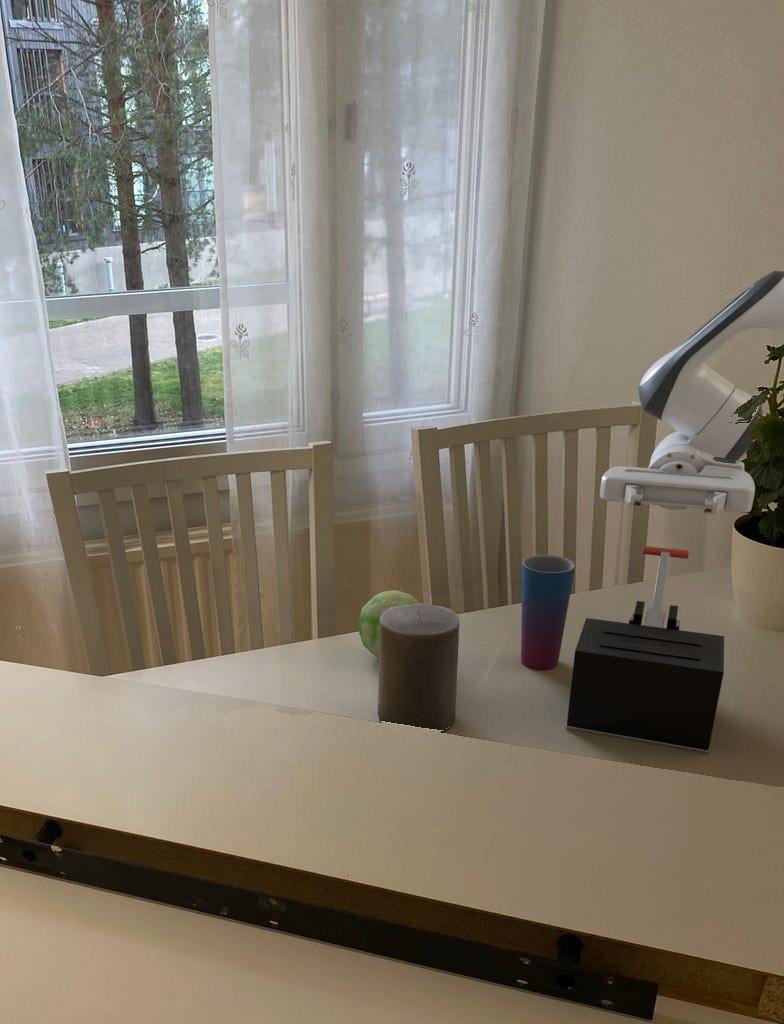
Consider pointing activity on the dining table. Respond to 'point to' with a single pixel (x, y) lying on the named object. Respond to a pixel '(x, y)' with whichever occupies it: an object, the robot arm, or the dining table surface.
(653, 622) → the lever
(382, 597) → the decorative ball
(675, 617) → the bracket
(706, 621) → the dining table surface
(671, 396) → the robot arm
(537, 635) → the cup
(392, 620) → the pillar candle
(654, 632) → the toaster
